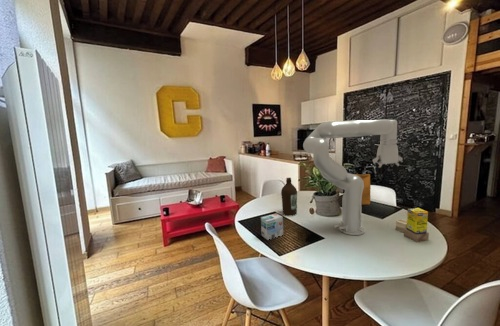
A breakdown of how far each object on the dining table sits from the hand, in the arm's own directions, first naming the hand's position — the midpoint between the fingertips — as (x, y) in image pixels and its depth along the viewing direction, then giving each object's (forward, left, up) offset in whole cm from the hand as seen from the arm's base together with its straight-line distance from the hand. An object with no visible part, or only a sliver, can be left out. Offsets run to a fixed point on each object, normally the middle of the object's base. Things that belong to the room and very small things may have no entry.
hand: (387, 173), depth 124 cm
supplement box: (+3, -17, -26) cm, 32 cm away
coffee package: (+11, +38, -30) cm, 50 cm away
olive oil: (-46, +33, -30) cm, 64 cm away
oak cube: (+4, -8, -30) cm, 32 cm away
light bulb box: (-66, +5, -30) cm, 72 cm away
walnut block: (+3, -17, -30) cm, 35 cm away
